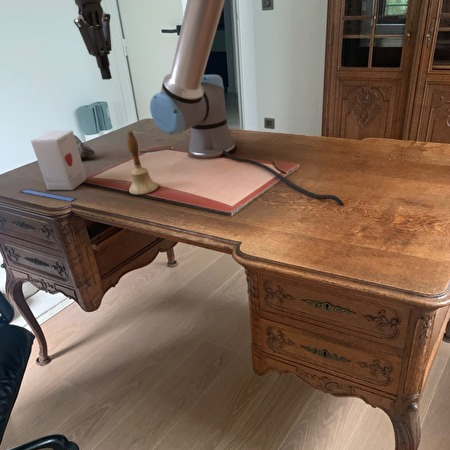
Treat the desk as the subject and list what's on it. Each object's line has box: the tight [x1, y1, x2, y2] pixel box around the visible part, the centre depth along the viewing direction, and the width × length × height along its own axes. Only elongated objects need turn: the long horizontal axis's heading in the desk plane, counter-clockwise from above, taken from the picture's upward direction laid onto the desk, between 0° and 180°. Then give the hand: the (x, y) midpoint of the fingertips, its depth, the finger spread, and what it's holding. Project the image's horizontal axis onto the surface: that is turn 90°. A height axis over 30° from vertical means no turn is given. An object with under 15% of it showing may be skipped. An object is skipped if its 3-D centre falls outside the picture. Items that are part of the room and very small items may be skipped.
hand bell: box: [126, 130, 159, 196], centre depth 121 cm, size 8×8×16 cm
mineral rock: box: [74, 134, 96, 160], centre depth 152 cm, size 13×11×10 cm
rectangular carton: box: [30, 130, 88, 191], centre depth 131 cm, size 9×9×15 cm
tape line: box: [21, 189, 75, 202], centre depth 129 cm, size 22×2×1 cm, turn 58°
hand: (107, 78), depth 138 cm, fingers closed
